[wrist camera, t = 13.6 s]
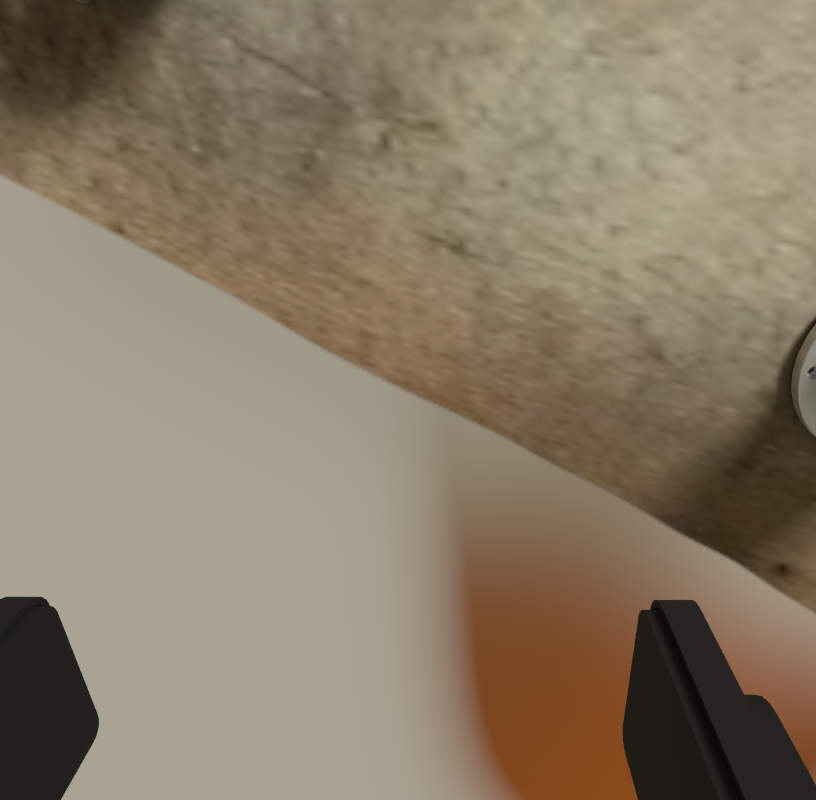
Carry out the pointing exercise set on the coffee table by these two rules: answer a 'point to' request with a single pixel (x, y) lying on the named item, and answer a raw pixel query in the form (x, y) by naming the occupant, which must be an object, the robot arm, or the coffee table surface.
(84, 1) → the rail
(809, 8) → the coffee table surface
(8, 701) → the robot arm
